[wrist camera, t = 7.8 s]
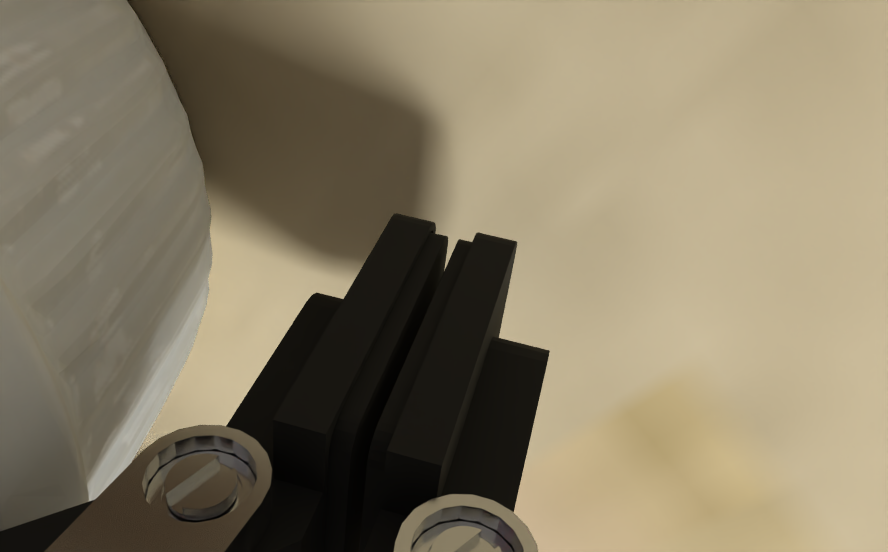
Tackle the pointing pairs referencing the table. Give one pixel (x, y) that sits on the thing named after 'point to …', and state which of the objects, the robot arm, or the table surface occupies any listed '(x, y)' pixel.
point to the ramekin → (90, 248)
